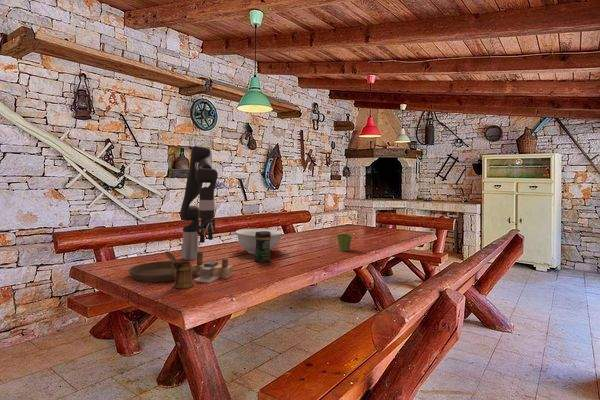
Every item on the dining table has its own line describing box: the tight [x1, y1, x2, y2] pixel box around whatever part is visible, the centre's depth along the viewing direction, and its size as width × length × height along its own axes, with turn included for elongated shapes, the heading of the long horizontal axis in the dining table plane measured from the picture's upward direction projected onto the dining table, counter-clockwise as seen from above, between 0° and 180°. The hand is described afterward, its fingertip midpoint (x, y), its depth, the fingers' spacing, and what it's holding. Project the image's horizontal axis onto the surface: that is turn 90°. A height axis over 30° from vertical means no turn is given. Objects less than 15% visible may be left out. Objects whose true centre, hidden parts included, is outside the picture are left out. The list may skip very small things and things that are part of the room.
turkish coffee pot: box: [165, 250, 195, 290], centre depth 174 cm, size 9×14×18 cm, turn 137°
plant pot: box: [335, 233, 354, 252], centre depth 271 cm, size 12×12×11 cm
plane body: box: [191, 250, 234, 279], centre depth 197 cm, size 20×7×12 cm, turn 77°
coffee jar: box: [253, 231, 271, 263], centre depth 232 cm, size 10×8×19 cm
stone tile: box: [193, 276, 219, 284], centre depth 188 cm, size 9×9×1 cm
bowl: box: [235, 228, 283, 255], centre depth 258 cm, size 32×32×15 cm
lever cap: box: [199, 267, 213, 279], centre depth 188 cm, size 5×4×5 cm
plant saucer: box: [128, 260, 193, 283], centre depth 195 cm, size 31×31×5 cm
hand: (206, 241), depth 187 cm, fingers open, 8 cm apart
